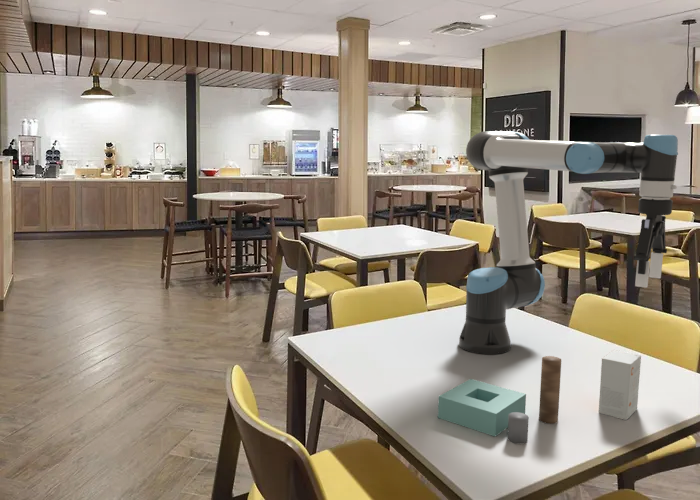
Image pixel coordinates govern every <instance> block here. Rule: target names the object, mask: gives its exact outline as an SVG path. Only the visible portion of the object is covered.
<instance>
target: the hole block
mask: <svg viewBox="0 0 700 500" xmlns="http://www.w3.org/2000/svg"><path fill="white" fill-rule="evenodd" d="M437 401H438V405H437V406H438V407H437V418H438V419H440V420H444V421H446V422H450V423H453V424H456V425H459V426H462V427H465V428H467V429H468V428H469V429H471V430H474V431H477V432H480V433H483V434H487V435H489V436H492V437H496V436H498V435H499V434H501V433H502V432H504V431H505V430H507V429H508V415H509V414H510V413H513V412H519V413H524V414H526V405H527V404H526V402H527V394H526V393H525V392H520V391H516V390H514V389H510V388H506V387H502V386H498V385H495V384H491V383H488V382H484V381H480V380H476V379H473V378H469V379H467V380H466V381H464V382H463V383H460V384H458V385H456V386H455V387H453V388H451V389H449V390H448V391H446V392H444V393H442V394H440V395H438V400H437Z"/></svg>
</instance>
